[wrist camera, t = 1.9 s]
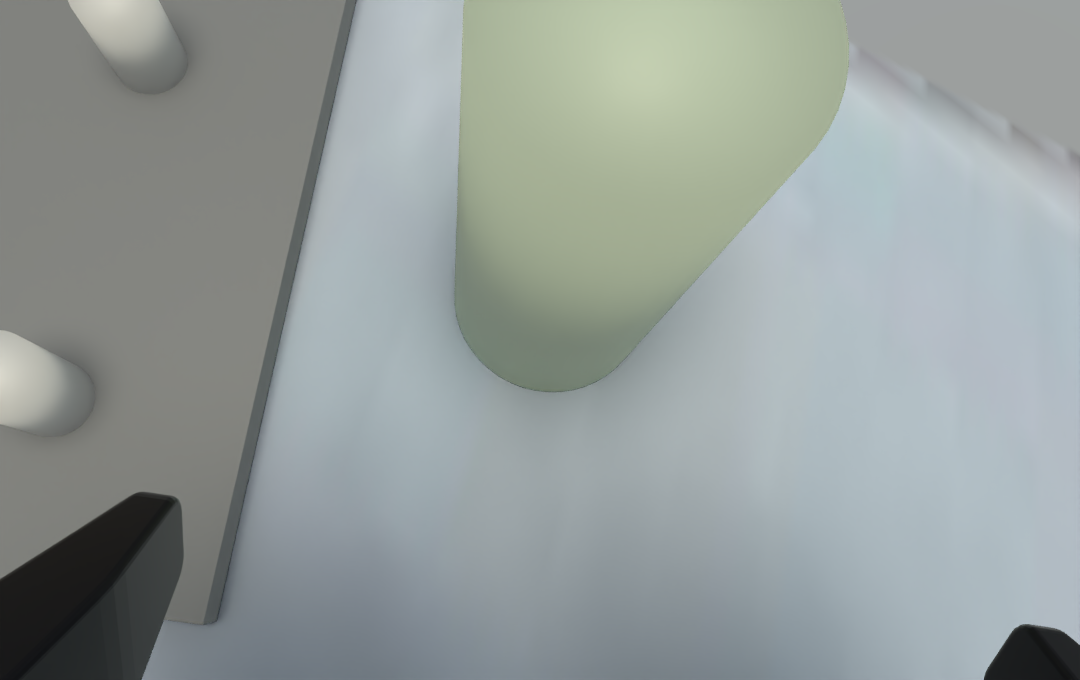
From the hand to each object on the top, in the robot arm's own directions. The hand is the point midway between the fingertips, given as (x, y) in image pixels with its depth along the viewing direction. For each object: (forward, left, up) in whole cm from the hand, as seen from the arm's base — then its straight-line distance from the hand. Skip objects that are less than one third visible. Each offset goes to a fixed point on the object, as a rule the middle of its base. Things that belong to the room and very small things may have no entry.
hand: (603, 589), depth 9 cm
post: (+6, -4, -13) cm, 15 cm away
